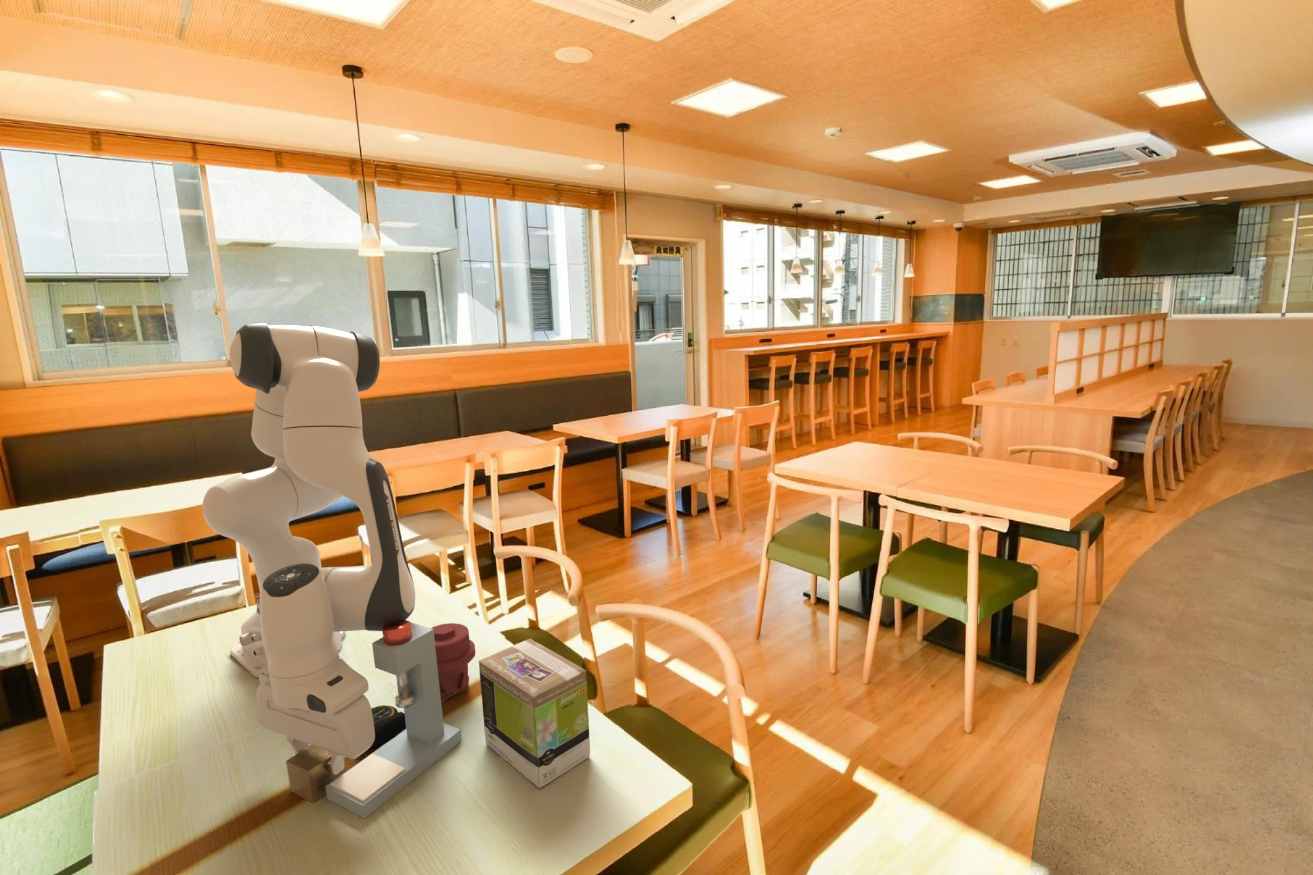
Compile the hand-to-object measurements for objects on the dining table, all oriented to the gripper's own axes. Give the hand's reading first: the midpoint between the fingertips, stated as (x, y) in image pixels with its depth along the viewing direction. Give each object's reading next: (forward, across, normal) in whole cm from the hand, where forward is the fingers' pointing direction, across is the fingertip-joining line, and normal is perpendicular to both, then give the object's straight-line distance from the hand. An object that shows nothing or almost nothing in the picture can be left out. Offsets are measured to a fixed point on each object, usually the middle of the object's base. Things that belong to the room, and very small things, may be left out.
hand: (320, 764), depth 95 cm
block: (+3, 0, -1) cm, 3 cm away
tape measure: (+3, 0, +11) cm, 12 cm away
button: (-7, +8, +9) cm, 14 cm away
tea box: (+3, +25, +18) cm, 31 cm away
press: (+3, +8, +6) cm, 11 cm away
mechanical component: (+3, +2, +25) cm, 25 cm away
